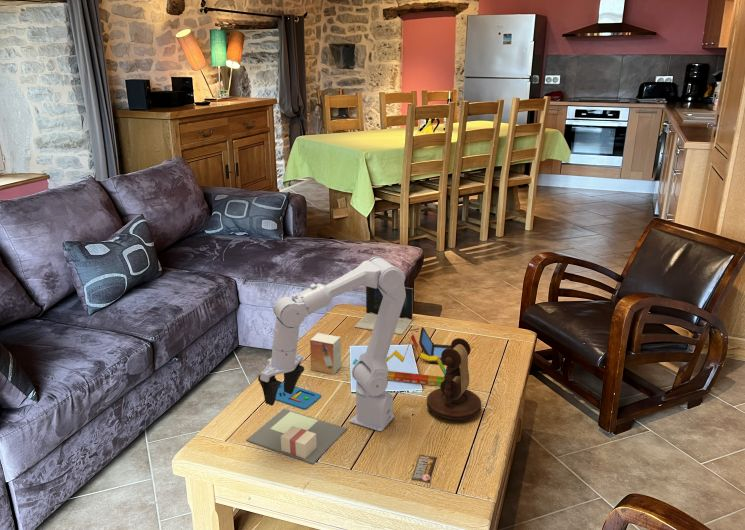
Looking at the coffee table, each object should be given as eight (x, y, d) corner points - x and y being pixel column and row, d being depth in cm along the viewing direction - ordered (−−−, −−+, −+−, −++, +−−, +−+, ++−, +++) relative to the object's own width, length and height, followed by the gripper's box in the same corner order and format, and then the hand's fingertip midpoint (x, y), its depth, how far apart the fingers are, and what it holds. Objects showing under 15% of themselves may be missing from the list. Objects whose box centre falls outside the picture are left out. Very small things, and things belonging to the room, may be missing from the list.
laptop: (353, 328, 217) (353, 294, 212) (366, 314, 228) (366, 282, 223) (402, 335, 211) (402, 301, 206) (412, 321, 222) (413, 288, 218)
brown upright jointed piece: (469, 430, 158) (473, 361, 151) (417, 414, 164) (419, 348, 158) (488, 403, 170) (492, 338, 163) (439, 389, 177) (441, 327, 170)
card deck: (316, 447, 150) (316, 433, 149) (305, 459, 146) (304, 444, 145) (293, 439, 154) (292, 425, 152) (281, 450, 149) (280, 436, 148)
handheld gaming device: (280, 380, 180) (322, 393, 173) (280, 384, 181) (322, 397, 174) (262, 393, 174) (305, 407, 167) (262, 397, 174) (305, 411, 167)
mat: (346, 429, 158) (346, 428, 158) (312, 464, 145) (312, 462, 145) (283, 409, 167) (283, 408, 167) (246, 441, 154) (246, 439, 154)
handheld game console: (452, 366, 190) (453, 345, 188) (418, 364, 192) (418, 342, 189) (453, 348, 202) (454, 327, 199) (421, 346, 203) (421, 325, 201)
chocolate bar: (430, 487, 138) (430, 484, 138) (409, 483, 139) (409, 480, 139) (438, 457, 148) (438, 454, 148) (418, 454, 149) (418, 451, 149)
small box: (310, 370, 188) (309, 339, 184) (318, 362, 193) (317, 332, 189) (334, 375, 185) (333, 343, 181) (341, 366, 190) (341, 336, 186)
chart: (352, 377, 184) (351, 332, 179) (355, 372, 187) (354, 327, 182) (453, 389, 177) (455, 342, 172) (454, 383, 180) (456, 337, 175)
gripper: (289, 333, 153) (283, 382, 157) (252, 350, 140) (246, 403, 144) (312, 342, 150) (306, 391, 154) (276, 360, 138) (270, 413, 141)
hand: (279, 398), depth 149 cm, fingers open, 7 cm apart
